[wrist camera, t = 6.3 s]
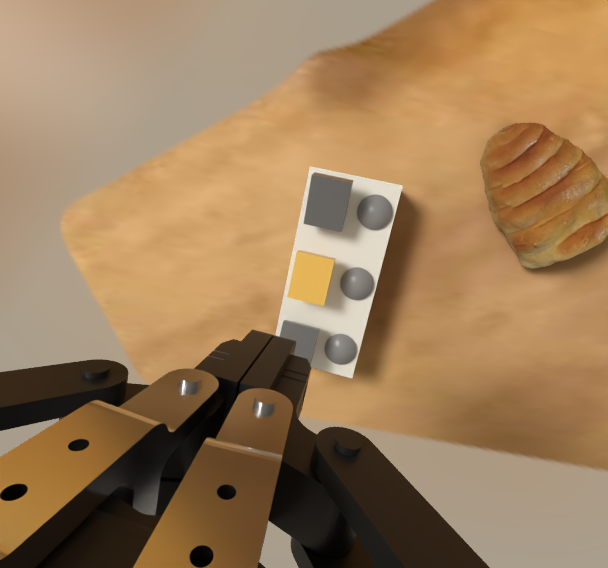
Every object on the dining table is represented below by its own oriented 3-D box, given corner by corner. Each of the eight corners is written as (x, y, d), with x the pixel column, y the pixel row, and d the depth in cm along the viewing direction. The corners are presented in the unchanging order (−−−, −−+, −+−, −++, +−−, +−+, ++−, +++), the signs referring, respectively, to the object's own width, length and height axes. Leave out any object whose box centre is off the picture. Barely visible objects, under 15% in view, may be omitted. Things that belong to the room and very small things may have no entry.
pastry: (449, 166, 26) (463, 159, 23) (540, 100, 25) (571, 82, 21) (523, 273, 27) (548, 284, 23) (615, 217, 25) (658, 218, 22)
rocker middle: (336, 257, 25) (334, 260, 23) (326, 300, 25) (323, 306, 24) (301, 248, 25) (296, 251, 23) (292, 291, 26) (287, 297, 24)
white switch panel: (398, 188, 27) (403, 185, 23) (353, 358, 30) (352, 379, 26) (317, 171, 28) (309, 165, 24) (282, 339, 31) (270, 357, 27)
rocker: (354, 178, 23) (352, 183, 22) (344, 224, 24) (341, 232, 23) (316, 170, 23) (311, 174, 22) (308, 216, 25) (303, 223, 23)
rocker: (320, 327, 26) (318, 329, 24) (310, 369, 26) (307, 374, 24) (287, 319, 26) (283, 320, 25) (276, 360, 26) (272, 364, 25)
